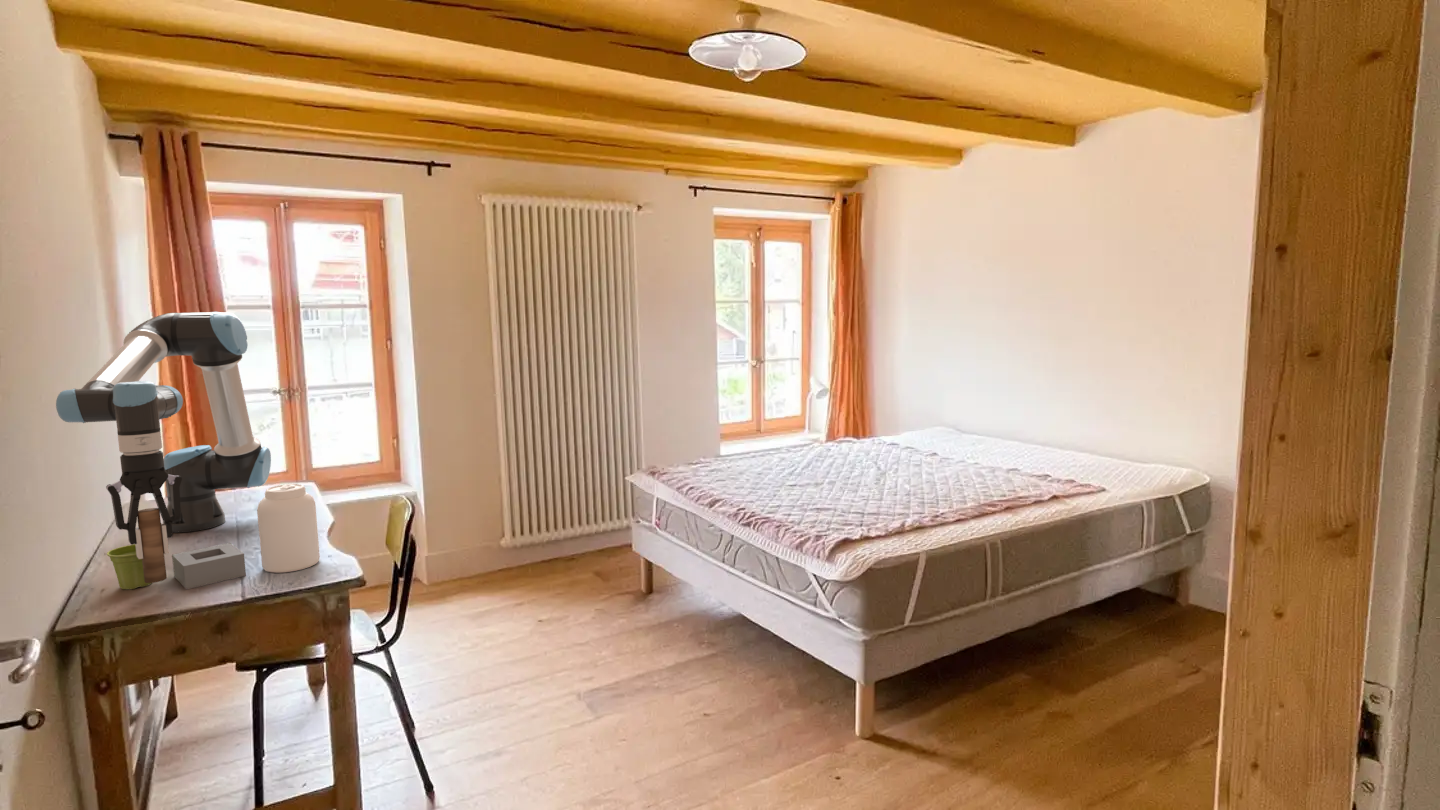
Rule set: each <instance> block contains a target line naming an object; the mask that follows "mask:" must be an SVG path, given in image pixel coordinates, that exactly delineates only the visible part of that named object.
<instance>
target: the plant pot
mask: <svg viewBox="0 0 1440 810" xmlns="http://www.w3.org/2000/svg"><path fill="white" fill-rule="evenodd" d="M106 555H107V556H108V557H109V559H110V561H111V562H112V565H113V568H114V572H115V575H116V578H117V582H118V585H119V587H120V589H122V590H135V589H137V588H140V587H143V588H145V587H147V586H150V585H152V583H145V581H144V572H143V563H142V559H138V557H137V554H136V546H135V544H133V545H131V544H129V545H123V546H121V547H120V546H119V547H116V548H113V549H111V550H109V551H107V552H106Z"/></svg>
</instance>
